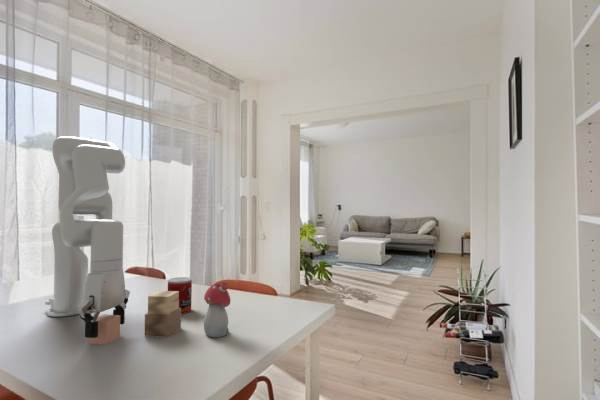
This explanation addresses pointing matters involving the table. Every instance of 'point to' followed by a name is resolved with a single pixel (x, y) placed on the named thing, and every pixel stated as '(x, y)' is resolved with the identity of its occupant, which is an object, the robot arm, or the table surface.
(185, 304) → the canned food
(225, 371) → the table surface
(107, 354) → the table surface
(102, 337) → the terracotta block
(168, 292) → the oak block
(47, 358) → the table surface
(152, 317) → the walnut base
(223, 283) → the decorative ornament
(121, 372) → the table surface
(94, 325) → the robot arm
